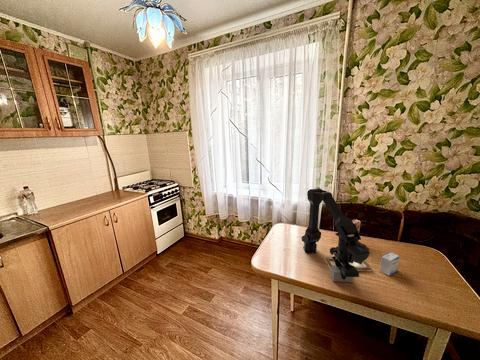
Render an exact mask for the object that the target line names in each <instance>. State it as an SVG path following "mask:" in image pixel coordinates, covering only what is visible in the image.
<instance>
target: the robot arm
mask: <svg viewBox="0 0 480 360" xmlns="http://www.w3.org/2000/svg"><path fill="white" fill-rule="evenodd" d="M306 193H307V195H306V196H307V197H306V198H307V201H308V202H309V215H308V216H309V217H308V218H309V219H308V226H307V228H306V229H305V233H304V234H303V236H301V242H303V247H302V248H303V250H304V253H305V254H317V247H318V243H319V241H320V240H321V238H322V231H320V229H319V216H320V215H319V214H320V205H321V203H322V202H323V203H324V205H325V207H326V208H327V210H328V212H329V213H330V214H331V217H332V219H333V220H334V227H335V230H336V231H337V232H336V233H335V236H337V237H338V241H337V246H335V247H330V248H329V253H330V256H332V257H333V260H334V262H335V265H336V267H339V270H340V273H341V277H342V279H343V280H345V279H346V277H353V278H359V277H360V271H358V270H357V269H356V267H355V266H352V265H350V264H349V262H350V263H353V261H354V262H356V263H359V264H362V262H363V261H364V260H365V261H367V260H368V258H369V256H370V253H371V252H370V250H369V249H368V248H367V244H364V243H362V242H361V240H362V238H361V235H360V232H359V233H358V230H357V227H356V225H355V224H354V223H353V222H352V220H353V219H351V218H349V217H348V216H346V215H345V213H344V212H343V211H342V209H341V208H340V206H339V204H338V203H337V201H336V200H335V198H334V197H333V194H332V192H330V191H327V190H325V189H322V188H320V187H317V188H311V189H308V190H307V192H306ZM353 234H354V236H351V237H350V236H348V235H353Z"/></svg>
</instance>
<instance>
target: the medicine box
mask: <svg viewBox="0 0 480 360" xmlns="http://www.w3.org/2000/svg"><path fill="white" fill-rule="evenodd" d="M400 257H401V256H400V255H398V254H396V253H393V252H388V253H386V254H384V255H381V258H380V259H381V260H380V266H379V272H381V273H383V274H385V275H387V276H388V277H390V276H392V274H395V273H396V272H398V268H399V263H400V262H399V261H400Z"/></svg>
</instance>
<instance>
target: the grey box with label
mask: <svg viewBox="0 0 480 360" xmlns="http://www.w3.org/2000/svg"><path fill="white" fill-rule="evenodd" d="M329 276H330V278H331V279H332V281H333V282H348V283H349V282H350V283H351V282H352V283H353V282H354V277H346V279H345V280H343V279H342V277H341V273H340V270H339V267H331V269H330V274H329Z"/></svg>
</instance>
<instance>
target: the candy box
mask: <svg viewBox="0 0 480 360" xmlns="http://www.w3.org/2000/svg"><path fill="white" fill-rule="evenodd" d="M351 220H352V222H353V223H354V224H355V225H356V227H357V230H358V233H359V234H360V228H361V221H360V220H358V219H351ZM348 236H350V237H351V236H354V234H353V235H348Z"/></svg>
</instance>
